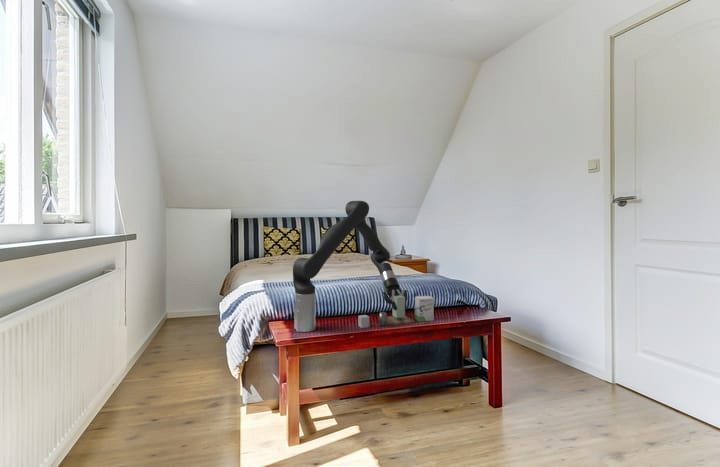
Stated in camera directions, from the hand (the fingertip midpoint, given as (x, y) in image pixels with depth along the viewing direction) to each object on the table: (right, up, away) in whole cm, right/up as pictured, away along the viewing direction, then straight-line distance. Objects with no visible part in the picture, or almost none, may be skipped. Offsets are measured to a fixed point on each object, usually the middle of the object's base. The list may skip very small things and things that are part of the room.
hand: (400, 309), depth 195 cm
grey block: (-18, -7, -7) cm, 21 cm away
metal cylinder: (-9, -7, -6) cm, 13 cm away
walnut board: (-1, -6, +2) cm, 7 cm away
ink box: (+12, -7, +4) cm, 15 cm away
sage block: (-1, -4, +2) cm, 5 cm away
